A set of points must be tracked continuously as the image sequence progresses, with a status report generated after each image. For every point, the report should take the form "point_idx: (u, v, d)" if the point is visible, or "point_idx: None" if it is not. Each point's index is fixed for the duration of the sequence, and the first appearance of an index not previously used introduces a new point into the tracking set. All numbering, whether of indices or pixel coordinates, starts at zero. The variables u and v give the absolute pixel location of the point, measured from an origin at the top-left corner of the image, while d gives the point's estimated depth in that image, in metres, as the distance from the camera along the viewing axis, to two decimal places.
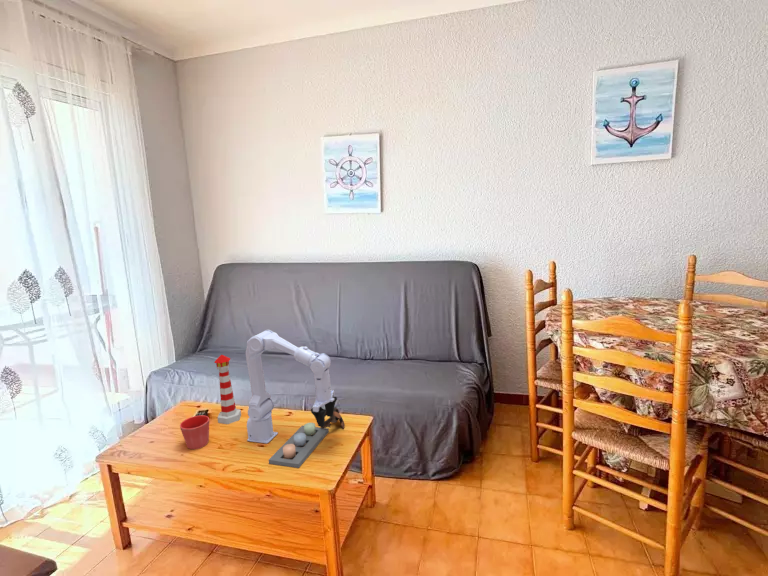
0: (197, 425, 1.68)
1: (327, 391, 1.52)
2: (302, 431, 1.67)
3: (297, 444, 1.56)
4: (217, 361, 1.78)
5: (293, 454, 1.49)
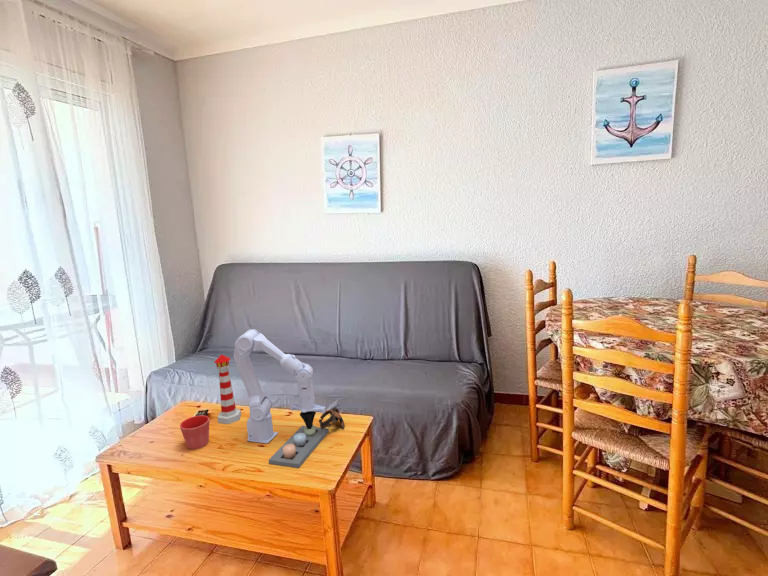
0: (197, 425, 1.68)
1: (300, 400, 1.61)
2: (302, 431, 1.67)
3: (297, 444, 1.56)
4: (217, 361, 1.78)
5: (293, 454, 1.49)
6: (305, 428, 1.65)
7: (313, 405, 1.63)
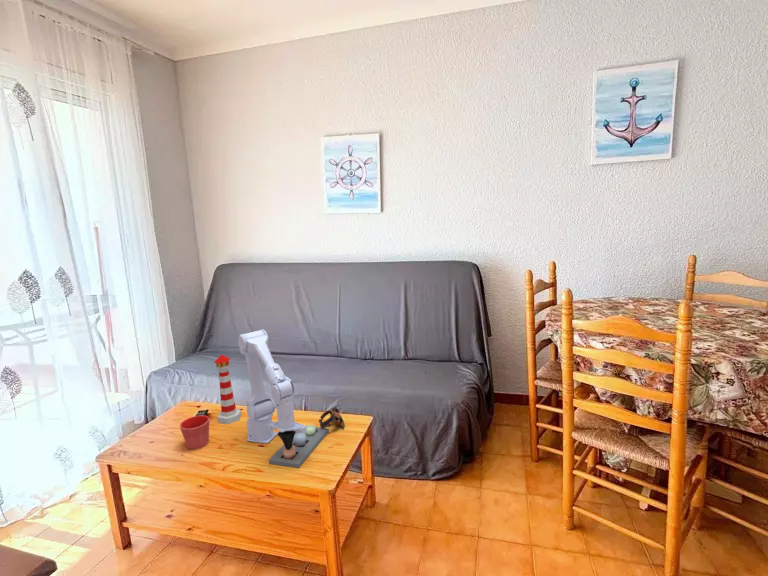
0: (197, 425, 1.68)
1: (278, 418, 1.46)
2: None
3: (297, 444, 1.56)
4: (217, 361, 1.78)
5: (293, 455, 1.49)
6: None
7: (292, 424, 1.47)
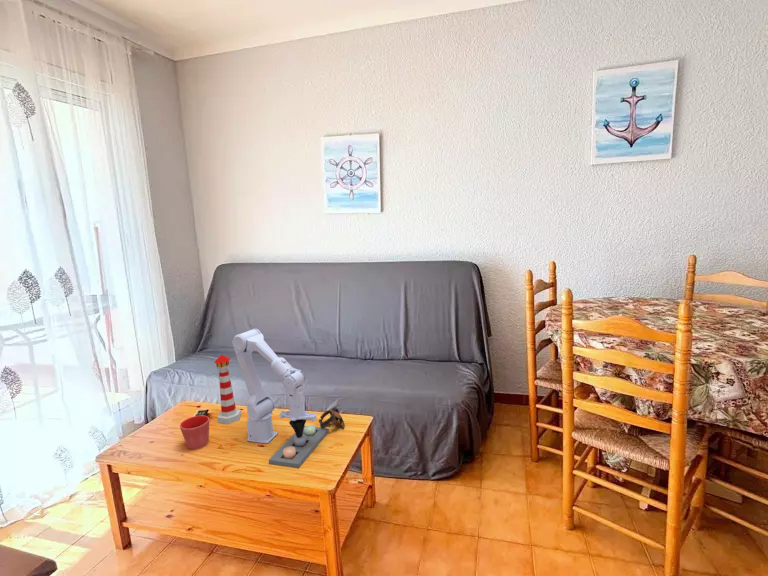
0: (197, 425, 1.68)
1: (290, 408, 1.54)
2: None
3: (297, 445, 1.56)
4: (217, 361, 1.78)
5: (293, 457, 1.50)
6: (305, 428, 1.65)
7: (303, 413, 1.55)
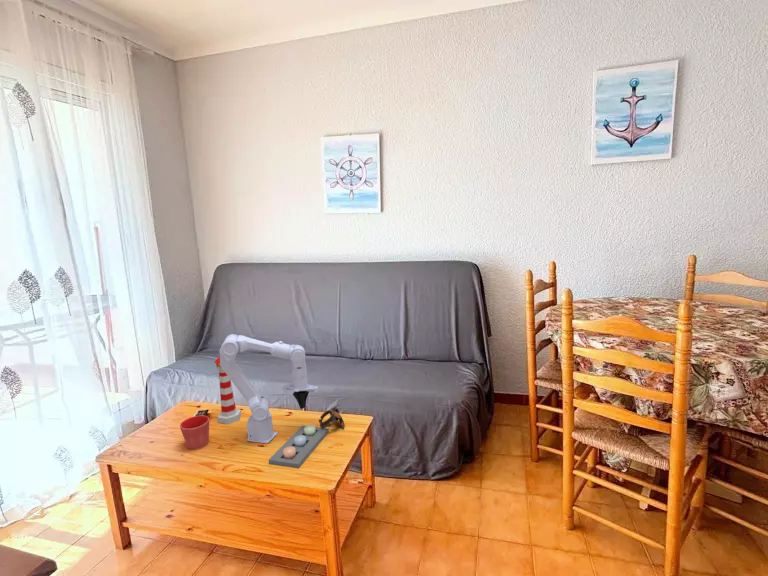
0: (197, 425, 1.68)
1: (293, 380, 1.64)
2: (302, 431, 1.67)
3: None
4: (217, 361, 1.78)
5: (293, 457, 1.50)
6: (305, 428, 1.65)
7: (306, 385, 1.65)
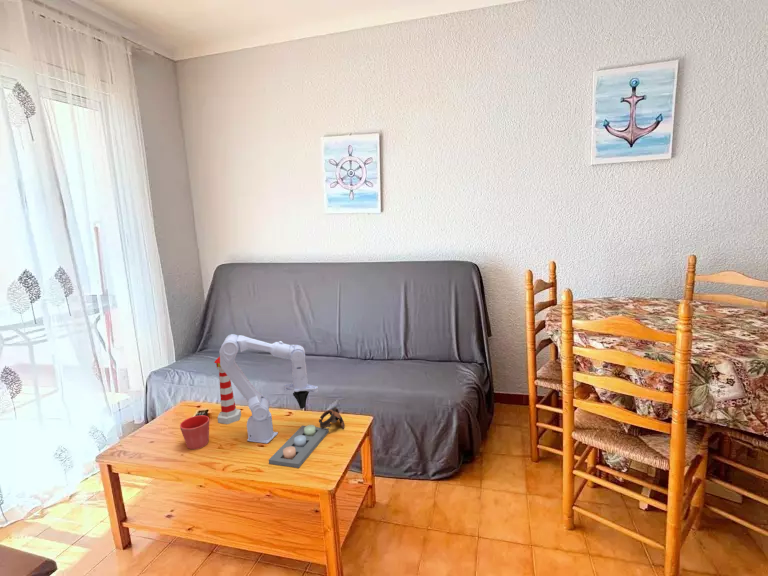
0: (197, 425, 1.68)
1: (293, 380, 1.64)
2: (302, 431, 1.67)
3: None
4: (217, 361, 1.78)
5: (293, 457, 1.50)
6: (305, 428, 1.65)
7: (306, 385, 1.65)
